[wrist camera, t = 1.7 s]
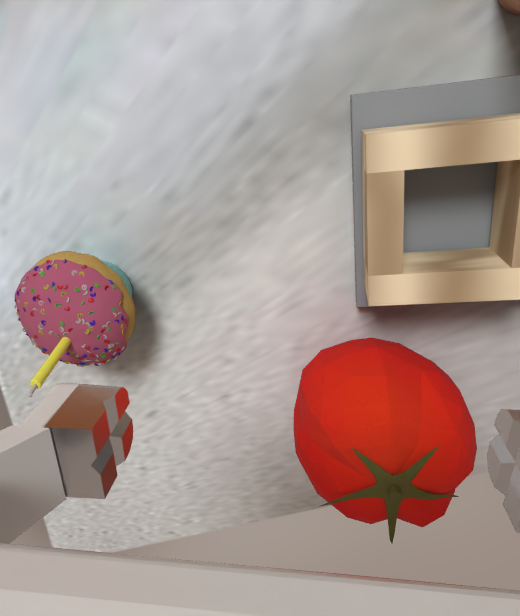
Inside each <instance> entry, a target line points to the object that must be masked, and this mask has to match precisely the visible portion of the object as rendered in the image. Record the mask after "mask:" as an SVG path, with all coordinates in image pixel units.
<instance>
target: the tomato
mask: <svg viewBox="0 0 520 616" xmlns="http://www.w3.org/2000/svg"><path fill="white" fill-rule="evenodd" d="M294 437H295V448H296V454H297V456H298V458H299V461H300V463H301V464H302V466H303V468H304V470H305V472H306V474H307V475H308V477H309V479H310V481H311V483H312V484H313V486H314V488H315V490H316V492H317V493H318V494H319V495H320V496H321V497H323V498H324V499H325V500H326V501H328V502H329V503H326V504H324V505H328V504H331V505H333V506H334V507H335V508H336V509H338V510H339V511H340V512H341V513H343V514H344V515H345V516H346V517H348V518H351V519H355V520H359V521H362V522H365V523H369V524H373V523H376V522H379V521H382V520H386V519H388V525H389V535H390V541H391V543H392V542H393V538H394V532H395V525H396V519H397V518H398V519H401V520H403V521H406V522H409V523H412V524H415V525H418V526H421V527H424V526H426V525H428V524H429V523H431V522H433V521H435V520H436V519H438V518H440V517H441V516H443V515H444V514H445V512H446V510H447V508H448V505H449V503H450V501H451V499H452V497H458V496H455V495H453V494H454V492H455V488H456V487H457V486H458V485H459V484H460V483H461V482H462V481H463V480H464V479H465V478H466V477H467V476H468V475H469V474H470V473H471V472H472V471H473V467H474V461H475V455H476V450H477V446H476V437H475V427H474V422H473V420H472V418H471V415H470V413H469V411H468V408H467V406H466V404H465V401H464V399H463V397H462V395H461V392H460V390H459V389H458V388H457V386H456V385H455V384H454V382H453V381H452V380H451V378H450V377H449V376H448V375H447V374H446V373H445V372H444V371H443V370H442V369H440V368H439V367H438V366H437V365H436V364H435V363H434V362H432V361H430V360H429V359H427V358H425V357H423V356H421V355H419V354H418V353H416V352H414V351H412V350H410V349H408V348H407V347H405V346H403V345H401V344H399V343H395V342H390V341H385V340H380V339H375V338H366V339H358V340H351V341H347V342H344V343H341V344H338V345H335V346H332V347H329V348H326V349H323V350H321V351H320V352H319V353H318V354H317V356H316V357H315V358H314V359H313V360H312V361H311V362H310V363H309V364H308V365H307V366H306V367H305V368H304V369H303V371H302V375H301V380H300V385H299V390H298V395H297V399H296V404H295V408H294ZM321 506H323V505H321Z"/></svg>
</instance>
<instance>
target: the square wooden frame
mask: <svg viewBox="0 0 520 616" xmlns="http://www.w3.org/2000/svg"><path fill="white" fill-rule="evenodd" d="M361 149H362V200H363V252H364V285H365V290H366V295H367V300H368V305H369V306H386V305H408V304H431V303H453V302H476V301H498V300H520V113H515V114H505V115H496V116H487V117H477V118H468V119H459V120H449V121H440V122H431V123H421V124H412V125H403V126H393V127H384V128H375V129H366V130H361ZM488 162H497V172H496V182H495V192H494V203H493V213H492V224H491V234H490V245H489V247H487V248H471V249H455V250H440V251H424V252H408V253H403V227H404V170H411V169H422V168H433V167H444V166H455V165H466V164H477V163H488Z"/></svg>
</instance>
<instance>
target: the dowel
mask: <svg viewBox="0 0 520 616" xmlns="http://www.w3.org/2000/svg"><path fill="white" fill-rule="evenodd" d="M498 1H499V3H500V5H501V6H502V7H503V8H504V9H505V10H506V11H508V12H510V13H512V14H514V15H519V16H520V0H498Z"/></svg>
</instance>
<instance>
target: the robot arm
mask: <svg viewBox="0 0 520 616" xmlns="http://www.w3.org/2000/svg"><path fill="white" fill-rule="evenodd" d="M128 405H129V398H128V393H127V390H126V389H125V388H124V387H115V386H102V385H89V384H75V383H60V384H57V385H56V386H55V387H54V388H53V389H52V390H51V391H50V392H49V393H48V394H47V395H46V397H45V398H44V399H43V400H42V401H41V402H40V403H39V404H38V405H37V406H36V408H35V409H34V410H33V411H32V412H31V413H30V414H29V415H28V416H27V417H26V418H25V420H24V421H23V422H22V423H21V424H20V425H19V426H10V427H8V428H6V429H4V430H1V431H0V616H520V591H516V590H506V589H495V588H485V587H474V586H463V585H453V584H442V583H431V582H421V581H410V580H399V579H388V578H378V577H368V576H357V575H345V574H335V573H323V572H313V571H301V570H290V569H279V568H269V567H258V566H246V565H235V564H225V563H213V562H203V561H192V560H181V559H169V558H159V557H149V556H138V555H127V554H116V553H105V552H94V551H83V550H73V549H62V548H50V547H40V546H29V545H18V544H9V543H11V542H12V541H13V540H15V539H16V538H17V537H18V536H20V535H21V534H22V533H23V532H25V531H26V530H27V529H29V528H30V527H31V526H32V525H34V524H35V523H36V522H37V521H39V520H40V519H41V518H43V517H44V516H45V515H46V514H48V513H49V512H50V511H52V510H53V509H54V508H55V507H57V506H58V505H59V504H61V503H62V502H63V501H64V500H66V497H77V498H96V499H105V498H106V496H107V494H108V492H109V490H110V488H111V486H112V485H113V483H114V481H115V479H116V477H117V471H116V466H117V465H119V464H121V463H122V462H124V461H125V460H126V458H127V456H128V454H129V451H130V448H131V444H132V439H133V424H132V419H131V418H130V417H129V415H128V414H127V413H126V412H125V410H126V408H127V406H128ZM494 425H495V427H496V429H497V431H498V432H499V435H498V436H496V437H495V438H494V439H493V440H491V441H490V444H489V449H488V454H487V460H488V470H489V474H490V478H491V480H492V482H493V484H494V487H495V488H496V489H498V490H499V491H500V492H502V493H503V494H504V495H505V499H504V502H503V506H504V508H505V510H506V512H507V514H508V516H509V518H510V520H511V522H512V524H513V526H514V529H515V531H516V532H520V410H513V409H501V410H500V411H499V413H498V414H497V417H496V420H495V424H494Z"/></svg>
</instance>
